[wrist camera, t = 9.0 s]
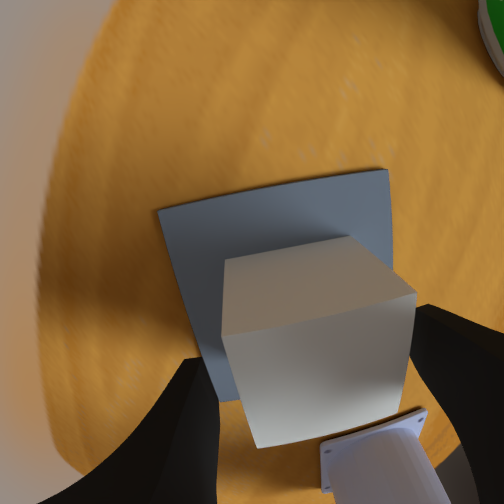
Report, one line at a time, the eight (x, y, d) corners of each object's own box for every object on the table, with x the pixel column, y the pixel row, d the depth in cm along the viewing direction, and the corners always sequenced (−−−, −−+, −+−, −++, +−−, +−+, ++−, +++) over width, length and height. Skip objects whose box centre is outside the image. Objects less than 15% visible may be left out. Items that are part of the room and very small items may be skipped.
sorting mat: (384, 361, 14) (386, 364, 14) (219, 398, 14) (219, 402, 14) (384, 168, 11) (387, 169, 11) (159, 209, 11) (157, 211, 11)
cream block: (353, 336, 13) (397, 413, 8) (248, 359, 13) (257, 448, 8) (350, 235, 12) (417, 292, 7) (224, 259, 12) (221, 336, 7)
